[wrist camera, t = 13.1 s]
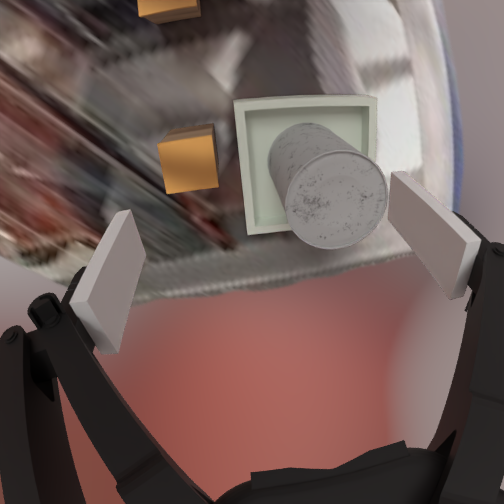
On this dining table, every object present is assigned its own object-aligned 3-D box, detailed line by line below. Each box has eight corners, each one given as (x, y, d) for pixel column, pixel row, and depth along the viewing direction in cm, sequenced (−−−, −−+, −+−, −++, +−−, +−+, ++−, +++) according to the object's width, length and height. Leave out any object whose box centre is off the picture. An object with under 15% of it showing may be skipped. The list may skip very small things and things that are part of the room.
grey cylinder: (295, 107, 34) (327, 127, 24) (358, 149, 37) (406, 186, 27) (252, 174, 38) (263, 222, 28) (316, 209, 41) (346, 264, 31)
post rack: (152, -14, 25) (135, -31, 19) (198, -22, 25) (192, -42, 19) (176, 170, 38) (166, 194, 31) (219, 164, 38) (218, 187, 31)
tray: (233, 100, 34) (233, 102, 31) (366, 95, 34) (377, 98, 32) (246, 223, 42) (247, 234, 40) (362, 211, 43) (370, 221, 40)
